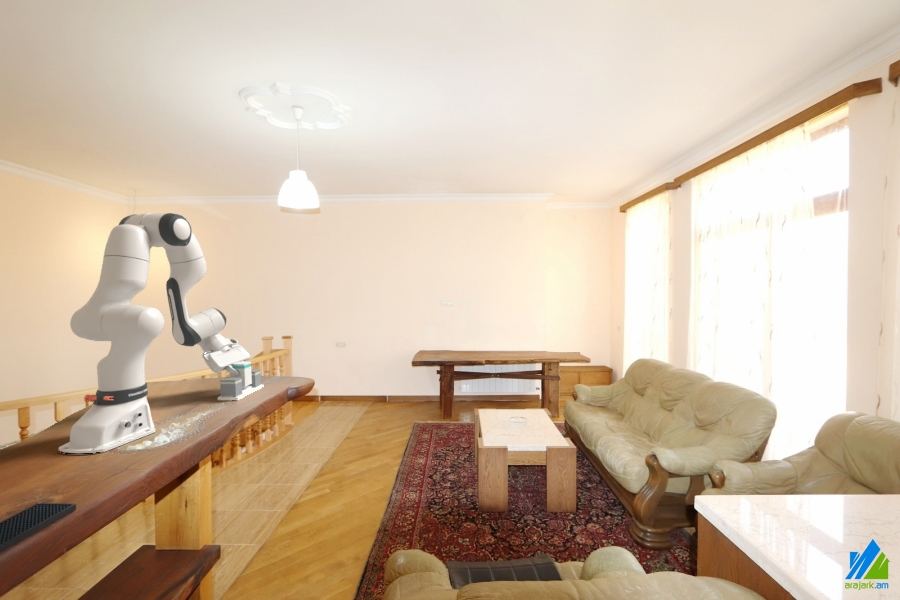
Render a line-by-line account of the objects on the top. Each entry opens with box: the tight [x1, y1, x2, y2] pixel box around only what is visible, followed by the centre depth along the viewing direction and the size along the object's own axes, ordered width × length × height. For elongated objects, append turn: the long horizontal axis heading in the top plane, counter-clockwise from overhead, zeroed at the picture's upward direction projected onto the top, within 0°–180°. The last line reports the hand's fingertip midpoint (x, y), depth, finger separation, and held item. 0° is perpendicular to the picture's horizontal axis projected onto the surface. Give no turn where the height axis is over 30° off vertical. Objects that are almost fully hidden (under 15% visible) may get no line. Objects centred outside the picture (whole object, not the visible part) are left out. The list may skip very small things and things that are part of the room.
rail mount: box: [217, 368, 265, 401], centre depth 161 cm, size 18×8×8 cm, turn 175°
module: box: [229, 361, 252, 387], centre depth 160 cm, size 5×6×9 cm
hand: (242, 372), depth 160 cm, fingers closed on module, 4 cm apart
